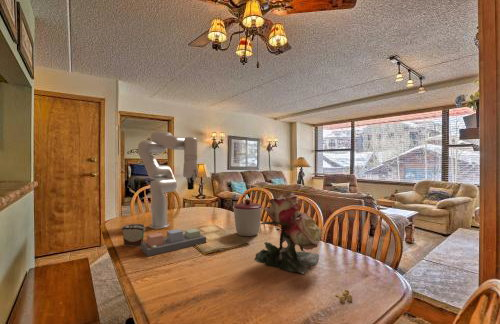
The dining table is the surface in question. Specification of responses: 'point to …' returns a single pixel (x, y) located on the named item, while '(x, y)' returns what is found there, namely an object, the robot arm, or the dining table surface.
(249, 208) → the canister
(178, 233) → the button blue
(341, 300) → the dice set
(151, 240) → the button terracotta
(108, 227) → the dining table surface
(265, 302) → the dining table surface
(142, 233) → the grey rimmed container
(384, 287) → the dining table surface
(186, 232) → the button sage
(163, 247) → the console
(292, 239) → the rose bouquet
